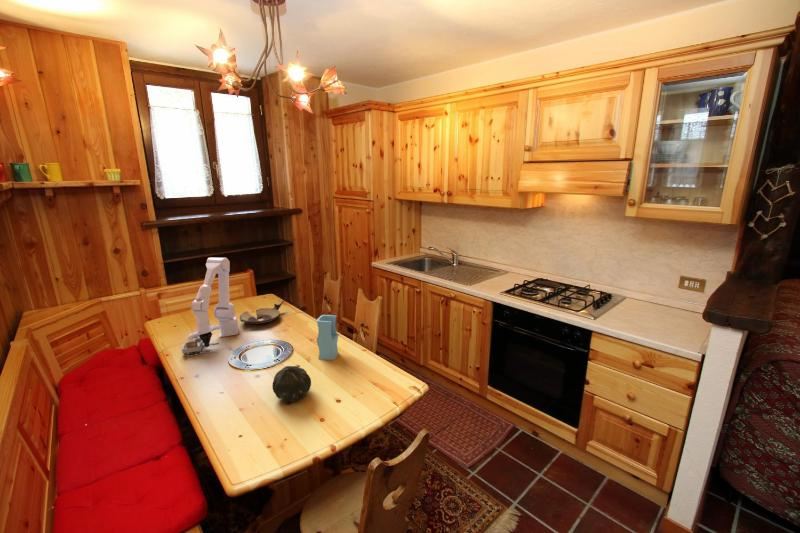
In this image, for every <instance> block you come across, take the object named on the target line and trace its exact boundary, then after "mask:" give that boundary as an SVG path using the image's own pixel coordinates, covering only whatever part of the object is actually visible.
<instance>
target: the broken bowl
mask: <svg viewBox="0 0 800 533" xmlns="http://www.w3.org/2000/svg"><path fill="white" fill-rule="evenodd" d="M283 303H284V299H282V300H280V301H279V302H277V303H274V304H273V308H271V307H270V308H268V307H267V308H266V307H263V308H261V307H260V308H259V309H256V310H255V312H256V313H255V315H256V317H255V316H253V315H252V314H251V313H249V311H244V312H243V313H241V314H240V315H239V320H240V322H242V323H243V322H244V323H245V324H246V323H248V324H255V325H256V324H257V325H259V324H266V323H269V322H271V321H274V320H276V319H277V318H279V317H280V314H281V311H279V309H280V308H281V306H282V305H283ZM258 319H261V320H258Z"/></svg>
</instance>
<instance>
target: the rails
mask: <svg viewBox="0 0 800 533" xmlns="http://www.w3.org/2000/svg"><path fill="white" fill-rule="evenodd" d="M219 344H220V343H219V342H218V341H217V342H212V343H211V342H210V344H209V346H213V345H219ZM202 347H205V345H204V344H203V345H202ZM210 353H217V349H214V350H213V349H212V350H208V351H207V350H206V351H200V353H197V351H195V352H189V353H187V355H184V354H183V355H182V357H183V358H187V357H191V356H196V355H197V356H198V355H205V354H210Z"/></svg>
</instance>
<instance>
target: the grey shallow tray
mask: <svg viewBox="0 0 800 533" xmlns="http://www.w3.org/2000/svg"><path fill="white" fill-rule="evenodd" d="M196 339H197V345H198V346H197V347H191V348H187V347H186V341H187V339H185V342H184V344H183V345H182V348H181V352H182V354H183V355H187V353H189V352H195V351H197V353H200V352H202V348H203V346H202V345H204V343H203V341H202V340H201V338H200V337H199V338H196Z"/></svg>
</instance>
